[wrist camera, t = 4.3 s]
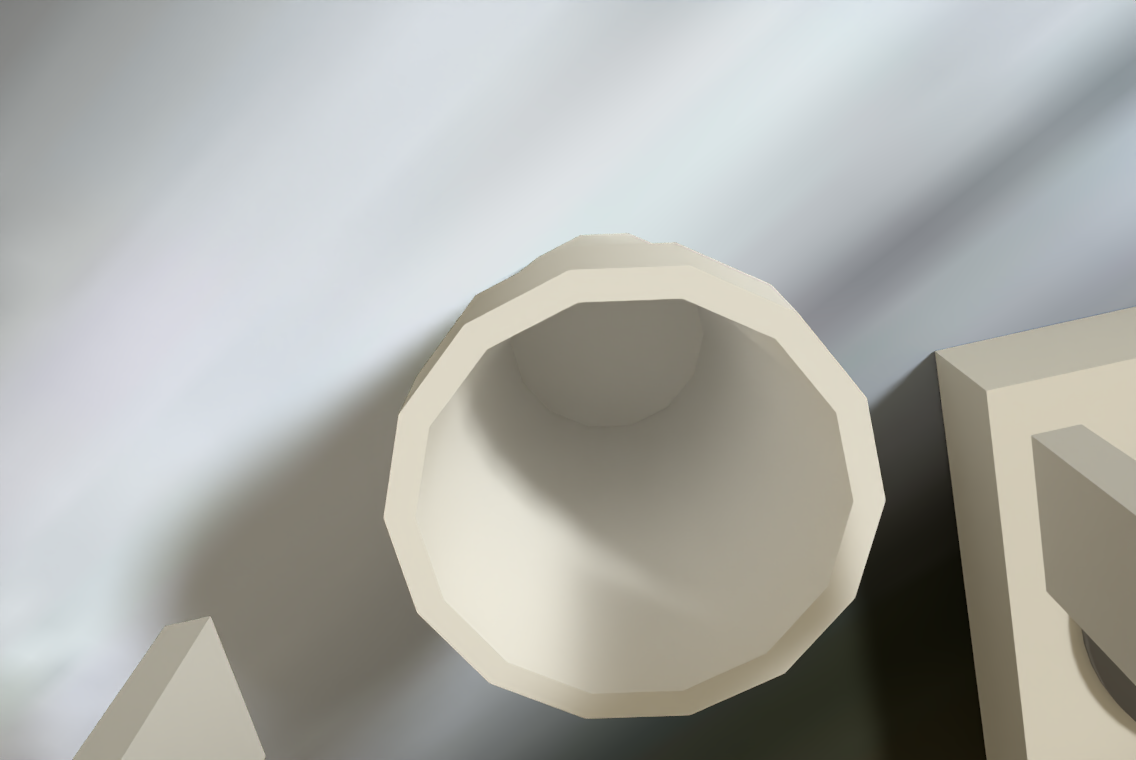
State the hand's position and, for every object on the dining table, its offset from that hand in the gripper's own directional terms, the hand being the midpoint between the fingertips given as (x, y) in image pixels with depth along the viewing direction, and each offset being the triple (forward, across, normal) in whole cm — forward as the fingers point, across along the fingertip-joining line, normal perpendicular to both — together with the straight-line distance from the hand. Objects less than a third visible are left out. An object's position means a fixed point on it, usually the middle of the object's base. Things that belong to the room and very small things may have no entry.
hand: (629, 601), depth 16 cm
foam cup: (+16, 0, 0) cm, 17 cm away
